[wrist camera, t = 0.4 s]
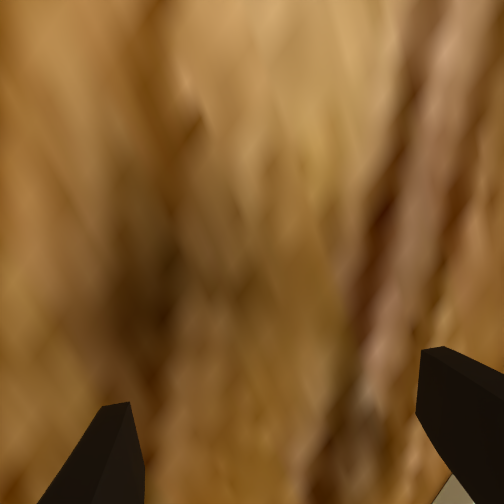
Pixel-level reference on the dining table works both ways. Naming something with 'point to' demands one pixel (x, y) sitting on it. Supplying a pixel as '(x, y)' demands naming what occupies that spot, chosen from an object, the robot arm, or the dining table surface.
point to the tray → (453, 493)
